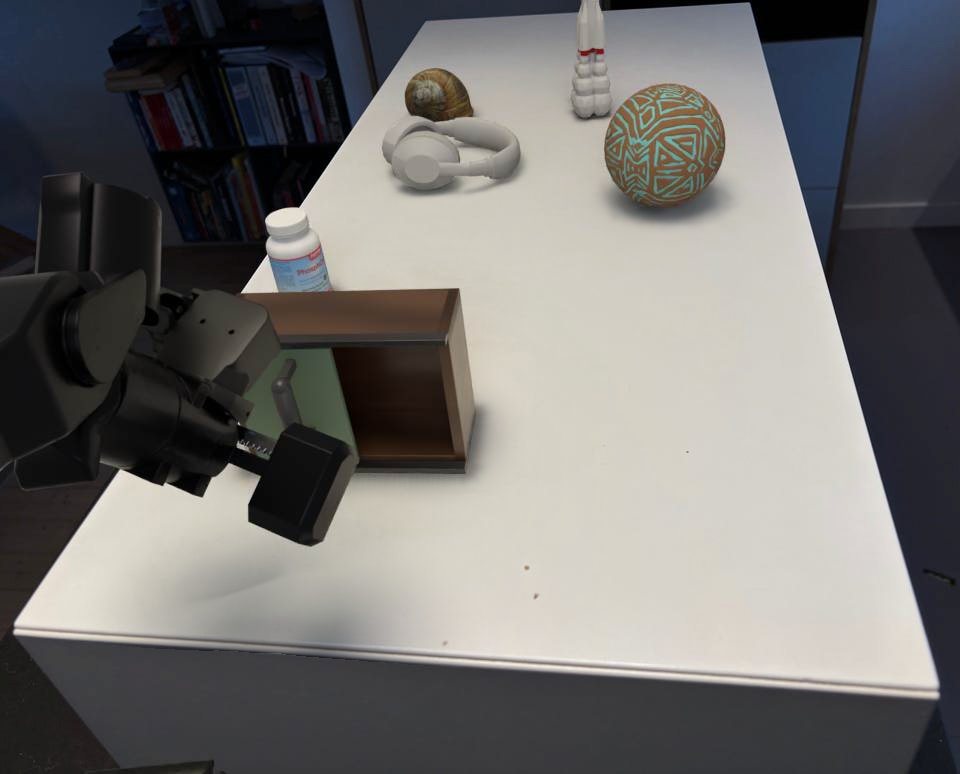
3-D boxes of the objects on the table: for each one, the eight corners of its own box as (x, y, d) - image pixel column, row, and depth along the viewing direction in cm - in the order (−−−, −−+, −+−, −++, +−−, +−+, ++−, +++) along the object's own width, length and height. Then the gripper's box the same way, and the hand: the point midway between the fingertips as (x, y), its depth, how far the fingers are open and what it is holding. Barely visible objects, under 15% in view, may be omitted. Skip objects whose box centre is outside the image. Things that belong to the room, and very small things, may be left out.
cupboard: (465, 473, 71) (445, 339, 62) (249, 471, 74) (200, 343, 65) (476, 412, 78) (459, 283, 69) (276, 413, 81) (235, 289, 72)
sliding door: (348, 495, 70) (315, 378, 62) (245, 493, 71) (200, 379, 63) (360, 459, 73) (330, 344, 65) (261, 458, 74) (220, 345, 66)
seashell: (404, 130, 137) (397, 82, 132) (411, 110, 144) (404, 64, 139) (471, 125, 135) (466, 77, 130) (475, 105, 143) (470, 58, 138)
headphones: (403, 205, 112) (537, 191, 118) (402, 150, 108) (541, 138, 114) (373, 159, 126) (494, 148, 132) (370, 108, 122) (496, 99, 127)
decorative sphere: (738, 188, 108) (751, 74, 99) (688, 237, 100) (697, 117, 90) (638, 169, 116) (640, 61, 107) (583, 213, 107) (580, 99, 98)
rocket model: (597, 125, 130) (595, -89, 112) (560, 118, 134) (552, -90, 116) (622, 110, 134) (624, -99, 116) (585, 103, 138) (581, -100, 120)
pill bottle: (318, 320, 93) (294, 232, 86) (273, 313, 95) (247, 227, 88) (343, 292, 97) (323, 206, 90) (300, 286, 99) (276, 202, 92)
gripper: (351, 326, 41) (426, 405, 55) (62, 226, 46) (202, 323, 60) (255, 536, 39) (360, 560, 53) (-36, 406, 44) (133, 461, 58)
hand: (260, 467), depth 56 cm, fingers open, 9 cm apart
